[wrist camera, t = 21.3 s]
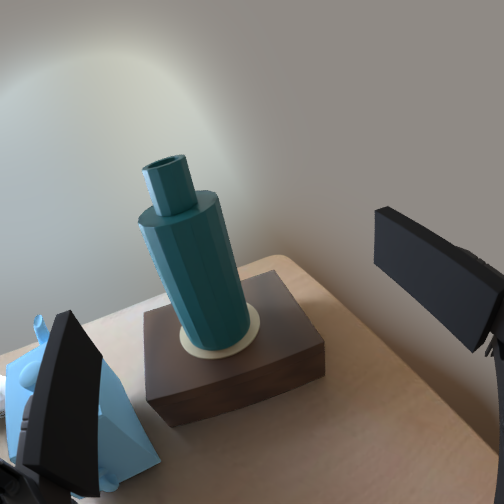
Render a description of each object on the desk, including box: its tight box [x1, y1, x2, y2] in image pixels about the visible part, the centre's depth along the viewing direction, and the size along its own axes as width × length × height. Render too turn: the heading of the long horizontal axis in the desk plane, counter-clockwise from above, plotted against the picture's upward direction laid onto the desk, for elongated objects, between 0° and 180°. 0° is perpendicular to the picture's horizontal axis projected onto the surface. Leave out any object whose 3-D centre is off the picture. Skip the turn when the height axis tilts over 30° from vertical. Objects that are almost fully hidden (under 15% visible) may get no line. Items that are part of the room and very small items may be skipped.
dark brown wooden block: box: [143, 270, 325, 427], centre depth 33 cm, size 18×14×6 cm
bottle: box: [138, 155, 250, 351], centre depth 26 cm, size 7×7×18 cm
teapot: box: [5, 315, 161, 499], centre depth 23 cm, size 22×11×14 cm, turn 37°
